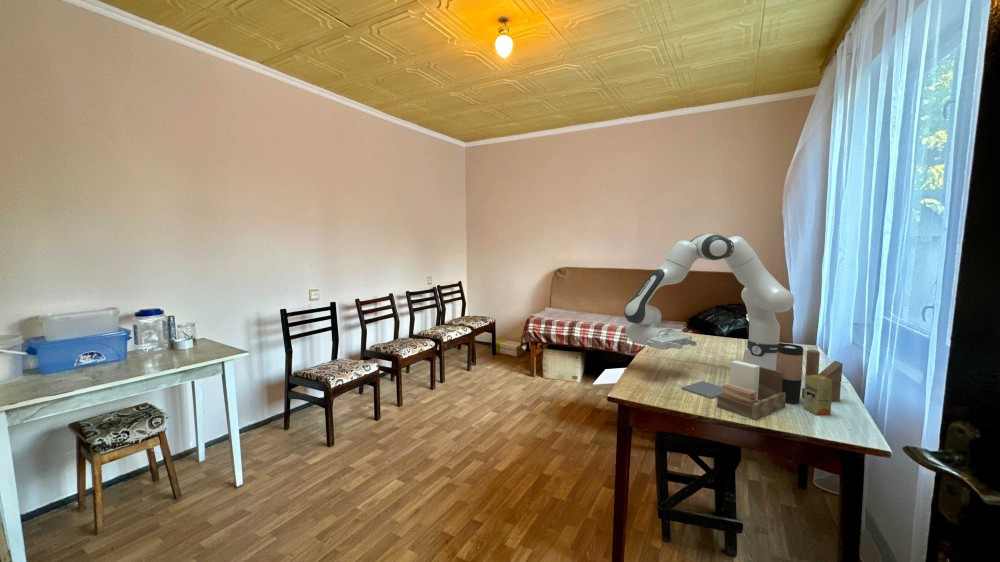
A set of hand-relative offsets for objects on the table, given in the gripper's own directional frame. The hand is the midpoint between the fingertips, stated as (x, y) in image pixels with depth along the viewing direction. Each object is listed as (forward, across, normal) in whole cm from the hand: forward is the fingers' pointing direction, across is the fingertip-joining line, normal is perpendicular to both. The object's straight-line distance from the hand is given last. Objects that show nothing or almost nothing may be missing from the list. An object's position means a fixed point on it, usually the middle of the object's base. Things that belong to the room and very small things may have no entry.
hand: (688, 345), depth 157 cm
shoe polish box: (+39, +12, +16) cm, 44 cm away
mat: (+8, 0, +16) cm, 18 cm away
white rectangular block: (+22, 0, +16) cm, 27 cm away
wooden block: (+35, +26, +16) cm, 47 cm away
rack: (+25, -2, +16) cm, 30 cm away
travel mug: (+29, +15, +16) cm, 37 cm away
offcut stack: (+25, -8, +16) cm, 31 cm away
